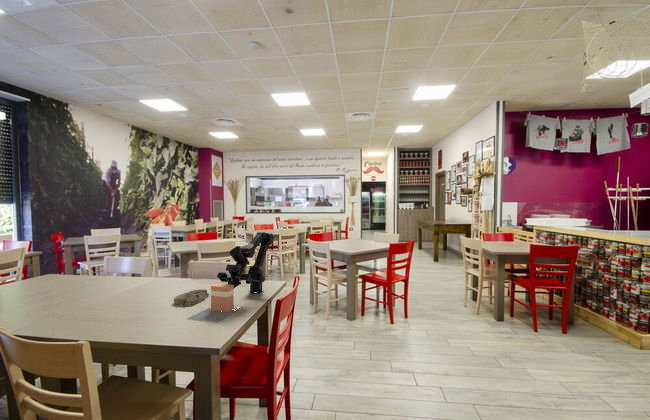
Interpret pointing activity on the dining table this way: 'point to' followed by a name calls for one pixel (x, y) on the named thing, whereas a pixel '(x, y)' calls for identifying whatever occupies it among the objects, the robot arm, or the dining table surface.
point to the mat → (211, 315)
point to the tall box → (222, 297)
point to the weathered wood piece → (191, 297)
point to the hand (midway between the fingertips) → (227, 292)
